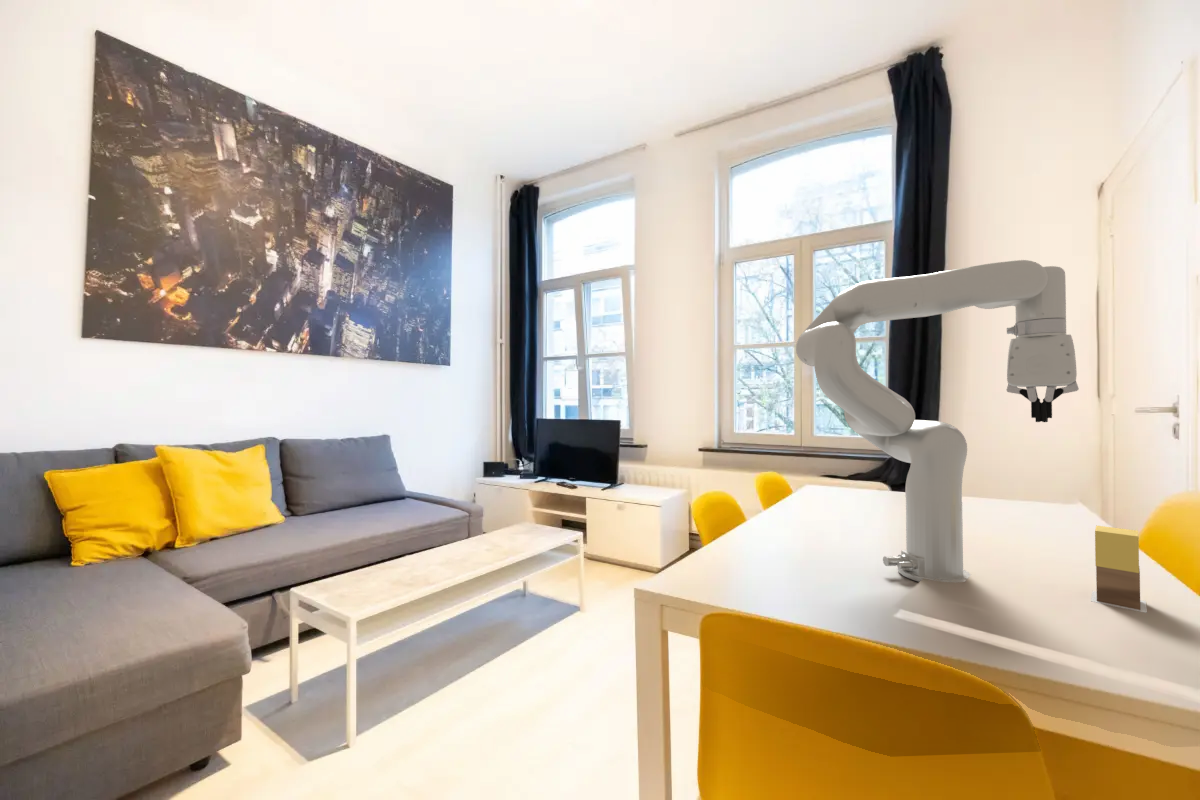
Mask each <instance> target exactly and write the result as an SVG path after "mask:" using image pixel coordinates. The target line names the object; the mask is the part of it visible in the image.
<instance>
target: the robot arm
mask: <svg viewBox="0 0 1200 800" xmlns="http://www.w3.org/2000/svg"><path fill="white" fill-rule="evenodd" d="M1066 289H1067V288H1066V271H1065V269H1064V268H1062V267H1060V266H1057V265H1054V266H1053V265H1051V266H1042V265H1041V264H1040V263H1038V262H1035V261H1032V260H1027V259H1021V260H1020V259H1019V260H1011V261H1010V260H1009V261H999V262H990V263H985V264H979V265H971V266H967V267H962V268H957V269H956V268H955V269H950V270H943V271H938V272H937V271H936V272H933V273H932V272H931V273H926V274H917V275H910V276H899V277H890V278H880V279H871V280H865V281H861V282H859V283H856V284H855V285H852V286H850V287H848V288H847V289H845V290H843V291H841V292H839V293H838V294H837V295H836V296H835V297H834V298H833V299H832V300H831V301H830V302H829V303H828V304H827V306H825V308H824V309H823V310H822V311H821V312H820V313H819V314H818V316H816V318H814V320H813V321H812V322H811V323H810V324H809V325H808V326H807V327H806V328H805V329H804V331H803V332H802V333H801V334H800V335H799V337H798V339H797V340H796V341H797V342H796V345H795V352H796V355H797V357H798V359H799V360H800V361H801V362H802V364H803V363H804V364H805V365H808V366H810V367H814V373H815V376H816V381H817V383H818V385H819V388H820V389H821V391H822V393H823V394H824V395H825V396H826V397H827V398H828V399H829V400H830V401H831V402H832V403H834V404H835V405H837V406H838V407H840V408H841V410H843V414H844V419H845V421H846V423H847V425H848V426H849V427H850V429H851V430H853V432H855V433H856V434H858V435H859V436H860V437H862V438H863V439H865V440H866V441H867V442H869V443H871V444H872V445H873V446H876V447H877V448H878V449H879V450H881V451H883V452H884V453H886V454H887V455H889V456H890V457H892V458H893V459H896V460H898V461H901V462H902V463H903V462H904V463H908V464H910V465H909V466H910V467H909V470H908V472H907V475H906V481H905V488H904V489H905V492H904V493H905V495H904V496H905V538H906V539H905V541H906V545H905V546H906V549H902V550H901V551H900V552H901V553H900V554H898V555H897V556H893V555H888V556H887V555H884V556H883V558H882V562H883V565H884V566H886V567H896V566H897V571H898V573H899V574H900V575H902V576H903V577H905V578H907V579H910V580H912V581H915V582H919V583H920V582H921V581H922V580H923V579H925V580H930V581H936V582H942V583H964V582H966V581H967V579H969V578H970V576H971V575H972V574H971V573H970V572H969V571H967V570H965V569H964V542H963V541H964V540H963V539H964V537H963V533H964V532H963V476H964V469H965V465H966V462H967V461H966V460H967V455H968V443H967V441H966V437H965V436H964V433H962V431H960V430H959V429H958V428H957V427H955V426H954V425H952V424H949V423H947V422H944V421H941V420H940V421H939V420H928V419H927V420H925V419H916V412H915V410H914V408H913V406H912V404H911V403H910V402H909V401H908V400H907V399H906V398H905V397H903V396H901V395H900V394H898V393H897V392H895V391H893V390H892V389H890V388H889V387H887V386H886V385H885V384H884V383H881V382H879V381H878V380H876V379H875V378H873V377H872V376H871V375H870V374H869V373H867V372H866V371H865V370H864V369H863V368H862V367H861V365H860V364H859V361H858V358H857V342H856V341H857V339H856V336H855V334H854V333H855V332H856V331H857V330H858V329H859V327H860V326H863V325H865V324H866V325H867V324H869V323H876V322H887V321H895V320H896V321H897V320H904V319H905V320H906V319H913V318H915V319H916V318H926V317H930V316H937V315H942V314H946V313H951V312H954V311H957V310H960V309H965V308H970V307H973V306H974V307H976V308H978V309H984V310H993V309H998V308H1000V309H1001V308H1006V307H1015V322H1014V323H1015V324H1014V325H1013V326H1011V327H1007V328H1006V335H1014V336H1015V338H1011V339H1010V343H1009V345H1008V346H1009V347H1008V352H1007V353H1008V354H1007V369H1006V381H1007V386H1006V392H1007V393H1011V394H1015V395H1021V396H1023V397H1024V398H1025V399H1027V400H1028V401H1029V402H1030V408H1031V409H1030V413H1031V414H1030V415H1031V416H1030V417H1031V418H1032V419H1035V423H1040V422H1042V423H1047V422H1049V420H1048V419H1052V418H1053V402H1054V401H1055V400H1057V398H1059V397H1060V396H1062V395H1063V394H1068V393H1073V392H1077V391H1079V386H1078V383H1077V374H1078V373H1077V361H1076V351H1075V345H1074V344H1075V343H1074V340H1073V336H1072V335H1071V334H1067V302H1066V301H1067V300H1066V299H1067V297H1066V291H1067V290H1066ZM1023 387H1024V388H1023ZM1037 387H1046V390H1045V394H1044V398H1042V401H1041V399H1040V398H1039V396H1038V395H1039V394H1038V390H1037ZM1057 387H1058V388H1057Z"/></svg>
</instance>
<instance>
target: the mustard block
mask: <svg viewBox="0 0 1200 800" xmlns="http://www.w3.org/2000/svg"><path fill="white" fill-rule="evenodd" d="M1094 533H1095V534H1094V546H1095V547H1094V550H1095V551H1094V553H1095V554H1094V555H1095V559H1094V560H1095V567H1096V566H1099V567H1105V568H1111V569H1117V570H1123V571H1129V572H1135V573H1139V569H1140V554H1139V552H1140V550H1139V549H1140V548H1139V547H1140V546H1139V545H1140V543H1139V542H1140V540H1139V530H1136V529H1135V530H1134V529H1128V528H1117V527H1111V526H1103V525H1096V526H1095V531H1094Z"/></svg>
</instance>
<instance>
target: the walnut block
mask: <svg viewBox="0 0 1200 800" xmlns="http://www.w3.org/2000/svg"><path fill="white" fill-rule="evenodd" d="M1095 569H1096V572H1095V575H1096V592H1097V601H1099V602H1104V603H1109V604H1114V605H1118V606H1123V607H1128V608H1133V609H1138V610H1140V600H1141V571H1140V570H1141V569H1140V568H1139V573H1135V572H1129V571H1123V570H1117V569H1111V568H1105V567H1099V566H1096V565H1095Z"/></svg>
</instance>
